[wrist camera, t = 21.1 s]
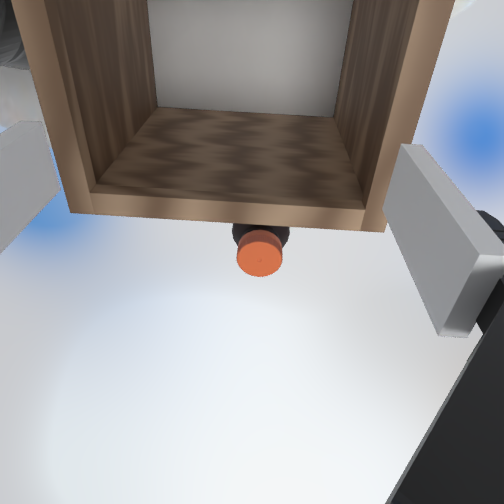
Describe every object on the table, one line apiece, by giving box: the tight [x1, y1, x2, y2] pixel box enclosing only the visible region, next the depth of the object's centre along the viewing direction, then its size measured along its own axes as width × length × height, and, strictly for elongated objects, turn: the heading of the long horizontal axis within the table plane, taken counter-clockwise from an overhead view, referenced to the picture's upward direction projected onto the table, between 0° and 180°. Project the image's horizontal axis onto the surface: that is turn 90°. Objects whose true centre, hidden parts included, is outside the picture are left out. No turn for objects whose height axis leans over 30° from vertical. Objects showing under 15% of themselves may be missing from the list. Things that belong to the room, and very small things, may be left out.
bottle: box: [232, 223, 290, 277], centre depth 49 cm, size 7×7×20 cm
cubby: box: [11, 0, 455, 232], centre depth 36 cm, size 26×20×26 cm
